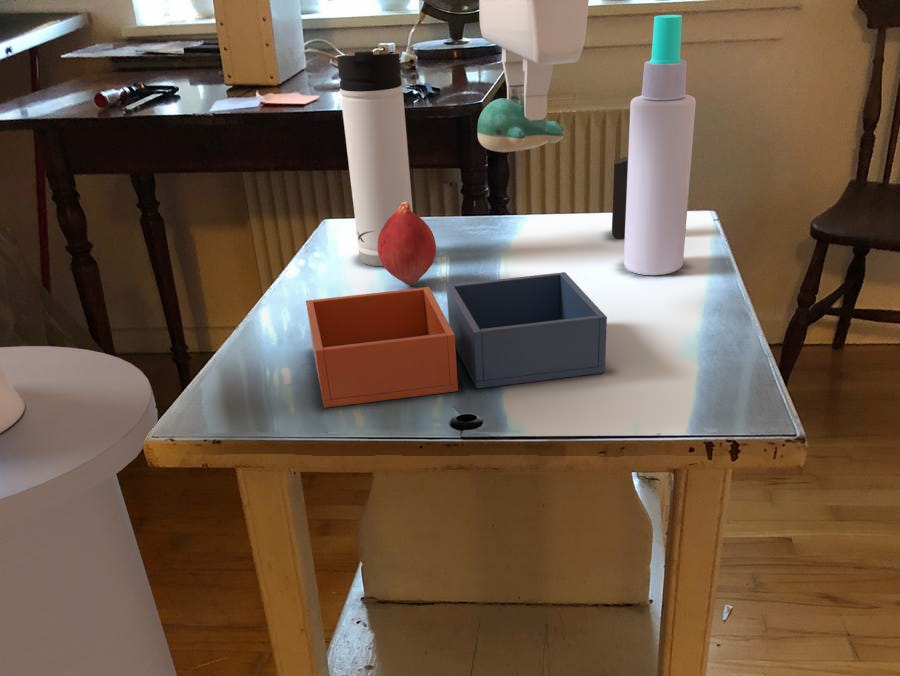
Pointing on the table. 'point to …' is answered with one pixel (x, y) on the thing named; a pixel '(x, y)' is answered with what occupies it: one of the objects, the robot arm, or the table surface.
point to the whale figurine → (514, 128)
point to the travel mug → (374, 143)
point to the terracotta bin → (381, 347)
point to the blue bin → (526, 329)
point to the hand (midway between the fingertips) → (526, 114)
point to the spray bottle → (659, 158)
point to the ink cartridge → (619, 197)
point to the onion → (406, 245)
